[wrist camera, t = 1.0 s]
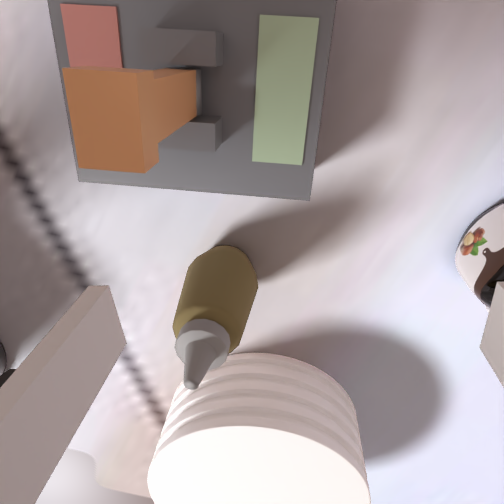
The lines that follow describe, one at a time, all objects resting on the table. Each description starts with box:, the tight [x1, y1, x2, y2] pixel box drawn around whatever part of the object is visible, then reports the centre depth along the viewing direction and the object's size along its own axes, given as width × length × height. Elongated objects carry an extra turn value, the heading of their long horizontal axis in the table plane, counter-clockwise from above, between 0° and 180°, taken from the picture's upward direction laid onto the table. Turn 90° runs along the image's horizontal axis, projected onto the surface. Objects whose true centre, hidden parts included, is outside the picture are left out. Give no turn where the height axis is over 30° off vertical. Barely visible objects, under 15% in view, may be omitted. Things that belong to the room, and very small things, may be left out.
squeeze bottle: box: [173, 245, 258, 390], centre depth 37 cm, size 8×8×18 cm
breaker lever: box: [62, 66, 202, 173], centre depth 22 cm, size 3×4×14 cm
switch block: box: [47, 0, 337, 201], centre depth 31 cm, size 20×16×11 cm
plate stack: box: [148, 353, 371, 504], centre depth 53 cm, size 28×28×12 cm
